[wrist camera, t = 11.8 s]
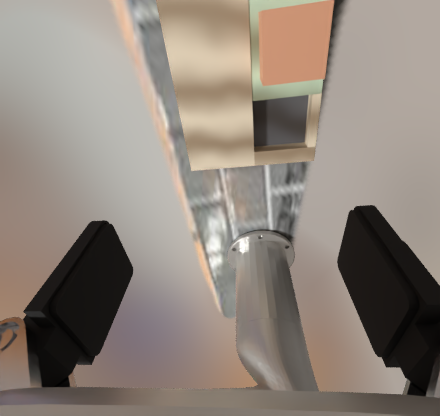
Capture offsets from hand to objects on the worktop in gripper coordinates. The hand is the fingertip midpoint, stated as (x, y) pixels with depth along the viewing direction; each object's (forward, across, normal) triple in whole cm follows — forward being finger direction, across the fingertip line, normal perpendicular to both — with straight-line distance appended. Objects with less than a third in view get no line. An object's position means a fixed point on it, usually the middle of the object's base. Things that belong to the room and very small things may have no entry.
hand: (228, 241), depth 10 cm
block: (+24, -6, -5) cm, 25 cm away
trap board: (+26, -2, -5) cm, 27 cm away
